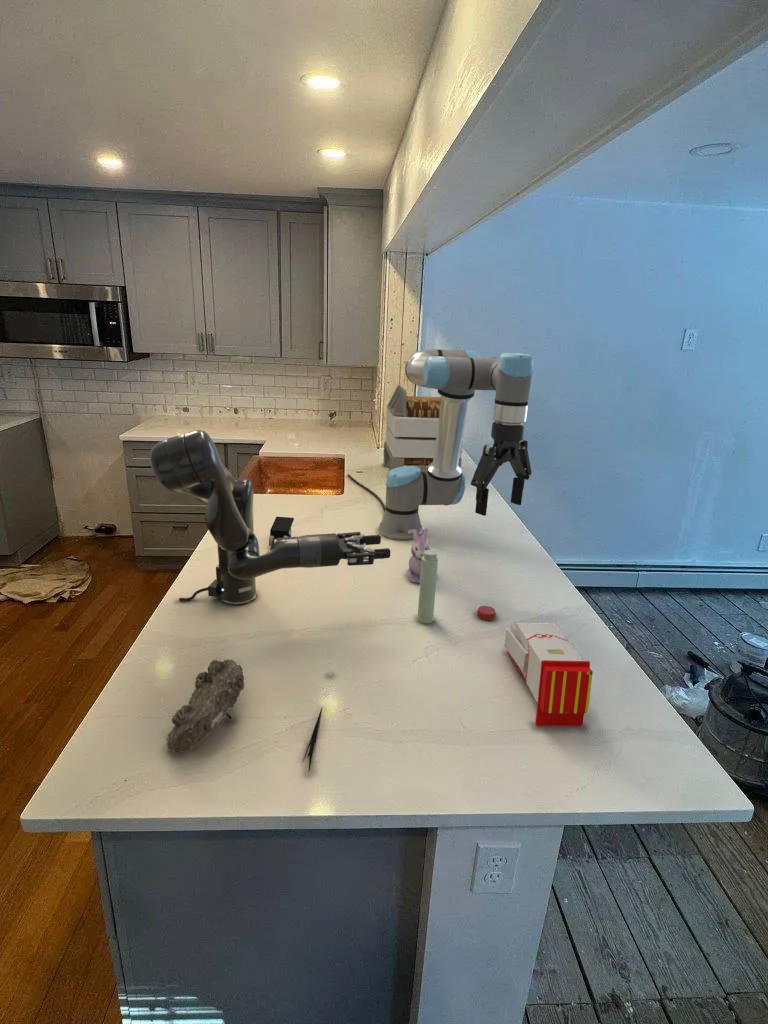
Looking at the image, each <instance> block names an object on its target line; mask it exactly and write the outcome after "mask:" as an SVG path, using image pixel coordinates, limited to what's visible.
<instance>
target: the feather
mask: <svg viewBox="0 0 768 1024" xmlns="http://www.w3.org/2000/svg"><path fill="white" fill-rule="evenodd" d="M329 675H330V676H331V675H332V674H331V673H330V674H329ZM322 710H323V707H321V708H320V710H319V713H318V716H317V719H316V723H315V725H314V728H313V731H312V733H311V737H310V739H309V742H308V745H307V748H306V751H305V754H304V757H303V760H302V763H301V767H302V765H303V763H304V761H305V758H308V759H309V760H308V762H307V763H308V764H307V766H308V771H310V770H311V766H312V765H311V764H312V760H313V757H315V756H314V755H315V751H316V749H315V746H317V739H318V733H319V729H320V722H321V717H322V712H323V711H322ZM313 754H314V755H313ZM306 755H307V757H306Z"/></svg>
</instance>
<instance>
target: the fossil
mask: <svg viewBox="0 0 768 1024" xmlns="http://www.w3.org/2000/svg"><path fill="white" fill-rule="evenodd" d="M243 670H244V669H243V667H242V665H240V664H237V662H236V661H235V660H234V659H232V658H231V659H227V658H226V659H224V660H223V661H222V660H217V659H212V660H211V661H210V663H209V665H208V666H207V671H201V672H199V673H198V674H197V675H196V676H195V680H194V684H195V685H194V687H195V689H194V690H193V693H192V694H191V697H190V698H189V700H188V704H184V705H182V706H181V707H180V709H177V710H176V711H175V713H174V715H173V716H172V718H171V723H172V724H173V727H172V730H171V731H170V732H168V734H167V738H166V741H167V742H166V745H167V749H168V750H169V751H173V752H174V753H176V754H178V753H182V752H188V751H189V752H192V751H193V750H195V748H196V747H197V746H199V744H200V743H201V742H203V741H204V740H205V739H206V738H207V737H208V736H209V735H210V734H211V733H212V732H214V730H215V729H217V727H218V726H219V724H220V722H221V721H222V720H223V719H224V718H225V716H226V717H227V719H229V720H233V717H232V715H230V714H229V710H230V709H231V708H234V706H235V704H236V703H237V702H238V699H239V697H240V695H241V693H242V691H243V690H245V689H244V688H245V675H244V671H243Z"/></svg>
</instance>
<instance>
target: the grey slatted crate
mask: <svg viewBox="0 0 768 1024" xmlns="http://www.w3.org/2000/svg"><path fill="white" fill-rule="evenodd" d="M407 394H408V393H407V390H406V389H404V388H403V387H402V385H399V384H398V385H397V386H396V388H395V390H394V392H393V394H392V395H391V398H390V400H389V402H388V404H387V405H386V413H385V414H386V415H385V423H386V428H385V438H384V442H383V466H384V467H388V468H389V471H391V470H392V469H394V468H397V467H402V466H412V467H413V466H415V467H428V466H429V464H431V463H432V462H433V459H434V451H435V444H436V436H437V429H438V421H439V414H440V406H441V399H442V397H441V396H415V395H414V396H413V395H412V396H411V395H407ZM464 431H465V430H464ZM464 431H463V433H464ZM463 442H464V441H463V440H462V444H461V450H460V456H459V463H458V466H459V467H460V468H461V469H462V461H463V460H462V453H463Z"/></svg>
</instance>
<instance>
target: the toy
mask: <svg viewBox="0 0 768 1024" xmlns="http://www.w3.org/2000/svg"><path fill="white" fill-rule="evenodd" d="M503 645H504V647H505V649H506V650H507V655H508V656H509V658H510V659H511V662H513V664H514V666H515V667H516V669H517V670H518V672H519V673H520V675H521V676H522V679H523V680H524V681H525V683H526V686H527V687H528V689H529V690H530V693H531V694H532V696H533V698H534V700H535V701H536V703H537V704H536V714H535V722H534V723H535V726H537V727H541V726H542V727H583V726H584V719H585V715H586V714H587V715H588V714H589V706H590V705H589V704H590V699H591V691H592V683H593V682H592V681H593V674H594V673H593V672H594V671H593V670H592V669H591V668H590V667H591V661H590V660H584V659H583V658H582V657H581V655H580V654H579V653H578V651H577V650H576V649H575V648H574V647H573V645H572V644H571V643H570V642H569V640H568V639H567V638H566V636H564V633H562V632H561V630H560V629H559V628H558V627H557V625H556V624H555V623H553V622H515V624H511V625H510V628H506V630H505V638H504V644H503Z"/></svg>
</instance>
